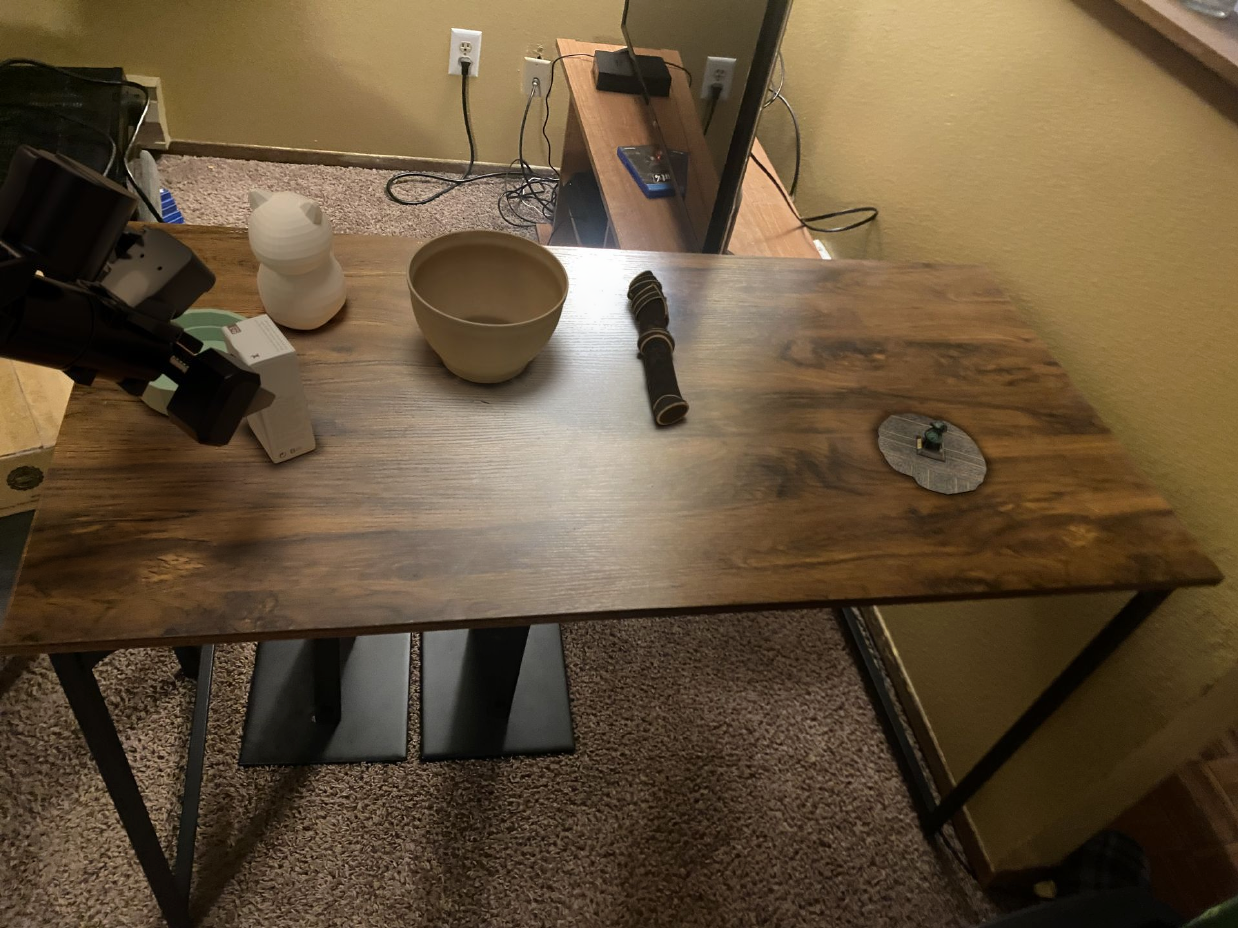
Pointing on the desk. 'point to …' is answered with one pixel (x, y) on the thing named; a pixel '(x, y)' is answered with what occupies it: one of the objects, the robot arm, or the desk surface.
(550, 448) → the desk surface
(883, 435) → the sculpture
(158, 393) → the shallow bowl
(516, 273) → the planter bowl
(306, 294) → the cat figurine
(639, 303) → the banded dark tube
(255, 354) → the cosmetic box
